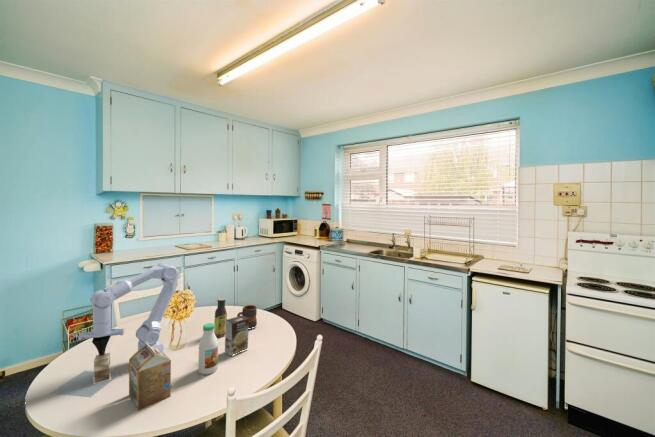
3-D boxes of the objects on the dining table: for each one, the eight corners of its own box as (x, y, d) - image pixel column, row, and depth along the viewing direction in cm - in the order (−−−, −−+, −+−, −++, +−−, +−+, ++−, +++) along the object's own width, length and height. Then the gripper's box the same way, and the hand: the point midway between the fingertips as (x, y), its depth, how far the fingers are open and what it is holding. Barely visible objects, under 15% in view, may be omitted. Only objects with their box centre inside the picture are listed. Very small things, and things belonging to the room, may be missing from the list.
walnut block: (108, 373, 120) (108, 363, 120) (109, 379, 117) (109, 368, 117) (94, 377, 117) (94, 366, 117) (94, 383, 114) (94, 372, 114)
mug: (233, 328, 168) (233, 308, 167) (251, 322, 176) (252, 303, 176) (240, 333, 162) (240, 312, 161) (259, 327, 170) (260, 307, 170)
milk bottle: (197, 376, 122) (197, 329, 121) (199, 366, 129) (200, 321, 128) (216, 374, 124) (217, 328, 123) (218, 364, 131) (219, 320, 130)
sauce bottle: (218, 338, 155) (219, 302, 153) (211, 335, 158) (211, 299, 157) (228, 334, 160) (229, 298, 159) (221, 331, 163) (222, 296, 162)
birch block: (110, 363, 120) (110, 352, 120) (108, 369, 116) (108, 358, 116) (96, 365, 118) (96, 355, 117) (94, 371, 114) (93, 360, 114)
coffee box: (231, 357, 138) (232, 323, 137) (224, 352, 142) (225, 319, 141) (248, 349, 145) (249, 318, 144) (240, 345, 149) (241, 314, 148)
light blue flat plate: (121, 374, 121) (121, 373, 121) (90, 398, 106) (90, 396, 106) (85, 371, 122) (85, 370, 122) (49, 394, 107) (49, 393, 107)
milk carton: (170, 396, 109) (170, 347, 108) (137, 410, 101) (138, 357, 100) (160, 383, 116) (160, 337, 115) (129, 396, 108) (129, 346, 107)
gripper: (126, 315, 122) (126, 346, 123) (82, 319, 117) (83, 352, 117) (121, 321, 116) (121, 355, 117) (75, 326, 110) (76, 361, 111)
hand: (102, 354), depth 117 cm, fingers closed
